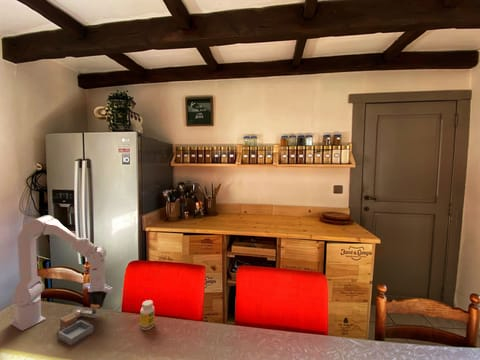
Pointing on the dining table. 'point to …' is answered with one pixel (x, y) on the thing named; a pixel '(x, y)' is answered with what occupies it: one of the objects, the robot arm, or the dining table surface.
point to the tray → (75, 332)
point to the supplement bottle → (147, 315)
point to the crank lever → (86, 311)
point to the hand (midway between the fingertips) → (97, 306)
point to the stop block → (67, 321)
